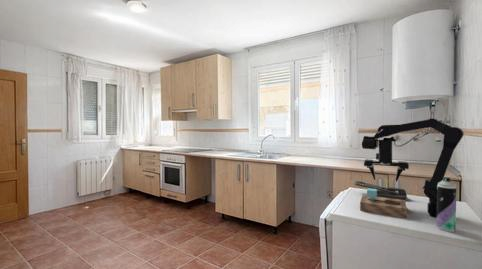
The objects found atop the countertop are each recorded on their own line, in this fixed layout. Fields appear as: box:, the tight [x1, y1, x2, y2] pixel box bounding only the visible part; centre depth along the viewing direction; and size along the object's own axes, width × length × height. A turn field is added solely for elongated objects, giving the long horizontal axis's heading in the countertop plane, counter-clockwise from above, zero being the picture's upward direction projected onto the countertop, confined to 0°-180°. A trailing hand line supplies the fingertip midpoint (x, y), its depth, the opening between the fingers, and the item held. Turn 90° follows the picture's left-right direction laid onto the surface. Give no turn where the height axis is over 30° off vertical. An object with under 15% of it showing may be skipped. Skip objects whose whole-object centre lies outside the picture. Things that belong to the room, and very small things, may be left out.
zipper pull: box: [354, 180, 408, 201], centre depth 131 cm, size 9×7×25 cm
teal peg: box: [366, 188, 377, 201], centre depth 112 cm, size 4×4×9 cm
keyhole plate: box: [359, 194, 408, 219], centre depth 110 cm, size 18×13×4 cm
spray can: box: [436, 176, 457, 233], centre depth 89 cm, size 6×6×20 cm
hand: (385, 180), depth 116 cm, fingers open, 9 cm apart
